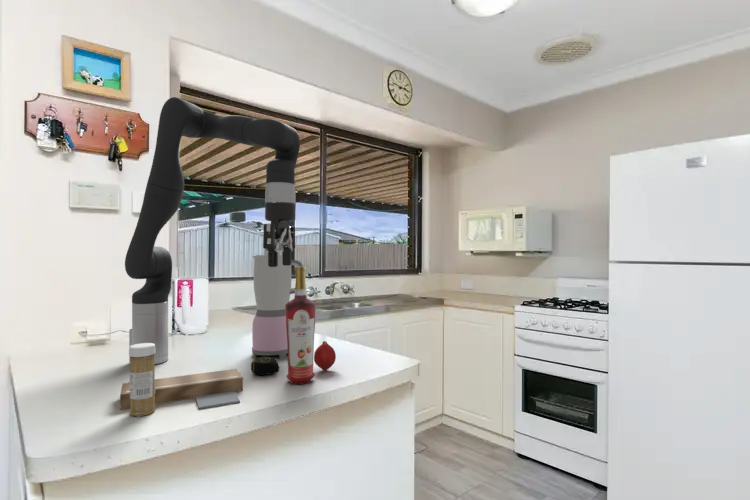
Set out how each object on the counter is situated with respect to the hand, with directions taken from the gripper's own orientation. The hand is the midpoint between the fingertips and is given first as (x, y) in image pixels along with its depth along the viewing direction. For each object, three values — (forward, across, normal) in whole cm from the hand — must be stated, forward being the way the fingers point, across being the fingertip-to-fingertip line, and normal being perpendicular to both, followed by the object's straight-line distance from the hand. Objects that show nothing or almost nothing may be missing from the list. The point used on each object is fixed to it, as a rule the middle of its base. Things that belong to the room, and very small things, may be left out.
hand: (280, 266), depth 106 cm
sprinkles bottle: (+28, +27, -17) cm, 43 cm away
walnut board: (+28, +16, -16) cm, 36 cm away
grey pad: (+28, +18, -6) cm, 34 cm away
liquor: (+28, +2, +7) cm, 29 cm away
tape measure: (+28, -3, -5) cm, 29 cm away
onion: (+28, -7, +10) cm, 31 cm away
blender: (+28, -21, -10) cm, 37 cm away
